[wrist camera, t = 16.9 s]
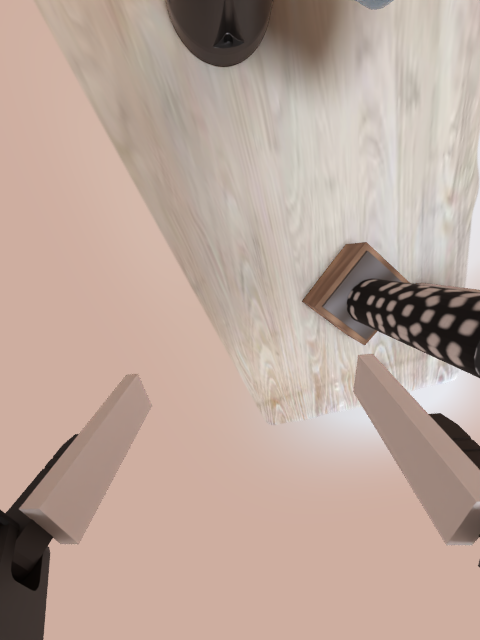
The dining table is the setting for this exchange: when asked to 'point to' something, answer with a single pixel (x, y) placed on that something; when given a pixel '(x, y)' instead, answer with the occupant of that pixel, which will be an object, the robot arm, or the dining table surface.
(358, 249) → the display pedestal
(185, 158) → the dining table surface
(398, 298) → the spotted tube
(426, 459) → the robot arm
